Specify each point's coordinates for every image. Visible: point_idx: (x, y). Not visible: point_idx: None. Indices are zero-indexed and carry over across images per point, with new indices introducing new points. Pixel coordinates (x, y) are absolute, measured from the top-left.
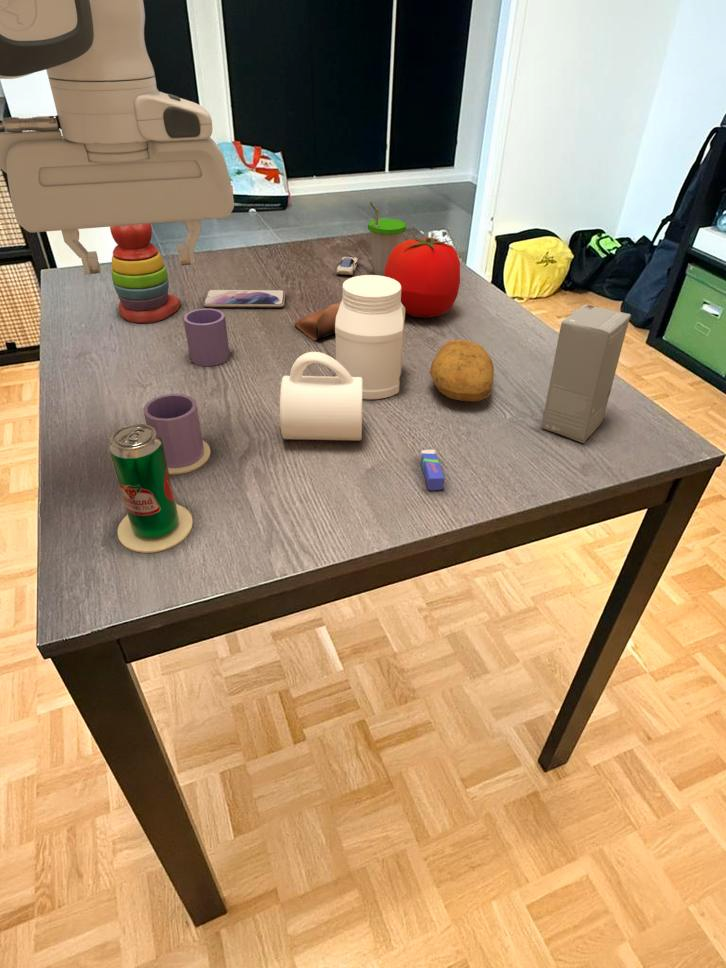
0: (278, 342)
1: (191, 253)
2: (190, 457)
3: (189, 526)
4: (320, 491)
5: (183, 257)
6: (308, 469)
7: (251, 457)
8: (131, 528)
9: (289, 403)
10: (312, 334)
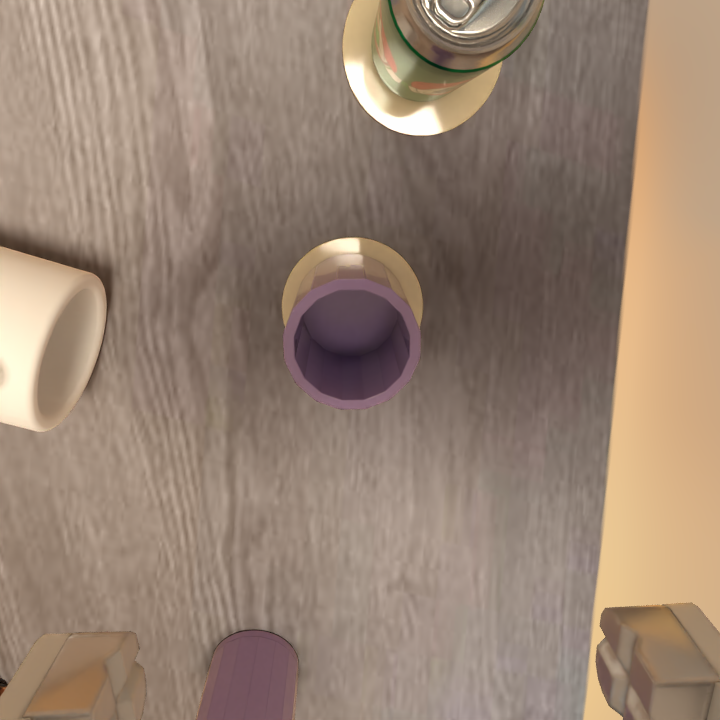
0: None
1: (21, 683)
2: (326, 261)
3: (350, 21)
4: (36, 73)
5: (90, 662)
6: (59, 172)
7: (191, 257)
8: None
9: (30, 297)
10: None
